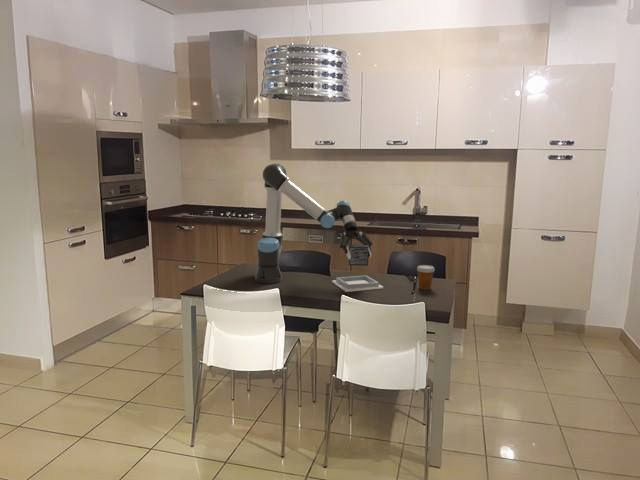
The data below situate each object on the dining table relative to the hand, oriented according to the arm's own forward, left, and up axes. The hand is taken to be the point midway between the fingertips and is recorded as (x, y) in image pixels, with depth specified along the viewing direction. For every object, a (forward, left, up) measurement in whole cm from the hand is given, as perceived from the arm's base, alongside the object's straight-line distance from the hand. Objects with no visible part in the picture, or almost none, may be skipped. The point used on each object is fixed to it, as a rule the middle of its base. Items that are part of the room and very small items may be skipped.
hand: (360, 257), depth 275 cm
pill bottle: (+33, -14, -17) cm, 39 cm away
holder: (0, +2, -16) cm, 16 cm away
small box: (0, +2, -5) cm, 5 cm away
